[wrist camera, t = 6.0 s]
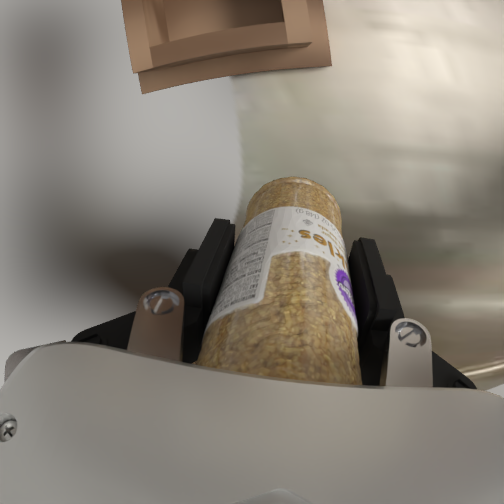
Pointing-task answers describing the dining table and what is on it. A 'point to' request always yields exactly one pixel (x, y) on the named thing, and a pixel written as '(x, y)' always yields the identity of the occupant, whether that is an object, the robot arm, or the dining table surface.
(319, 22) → the condiment rack
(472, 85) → the dining table surface
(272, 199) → the sprinkles bottle
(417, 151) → the dining table surface
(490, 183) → the dining table surface
